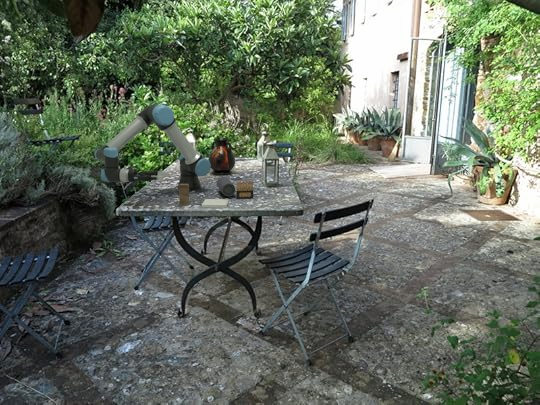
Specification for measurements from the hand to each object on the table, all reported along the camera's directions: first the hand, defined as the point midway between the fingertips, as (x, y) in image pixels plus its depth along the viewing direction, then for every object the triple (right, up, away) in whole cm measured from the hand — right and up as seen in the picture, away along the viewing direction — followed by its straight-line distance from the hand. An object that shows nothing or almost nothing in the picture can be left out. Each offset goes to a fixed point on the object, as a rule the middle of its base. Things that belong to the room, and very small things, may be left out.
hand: (166, 176), depth 262 cm
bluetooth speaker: (+31, -10, +31) cm, 45 cm away
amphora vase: (+22, +7, +101) cm, 104 cm away
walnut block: (+10, -16, +4) cm, 20 cm away
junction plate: (+28, -16, +5) cm, 33 cm away
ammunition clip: (+44, -13, +20) cm, 50 cm away
